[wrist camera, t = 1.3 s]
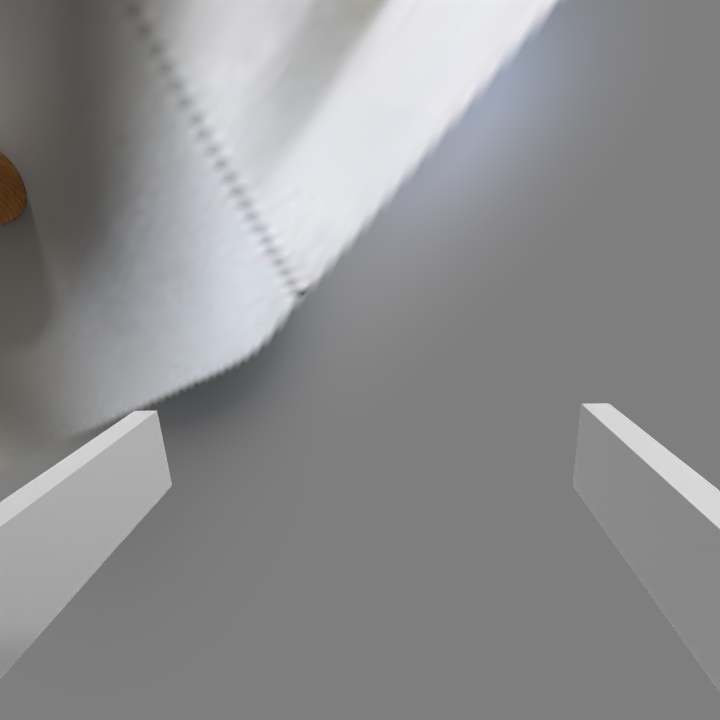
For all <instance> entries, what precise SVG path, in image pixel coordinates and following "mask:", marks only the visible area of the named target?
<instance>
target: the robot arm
mask: <svg viewBox="0 0 720 720" xmlns="http://www.w3.org/2000/svg"><path fill="white" fill-rule="evenodd" d="M171 486H172V483H171V478H170V473H169V468H168V463H167V458H166V453H165V448H164V444H163V438H162V433H161V428H160V423H159V418H158V413H157V411H134V412H132V413H131V414H129V415H128V416H126V417H125V418H123V419H122V420H121V421H119V422H118V423H116V424H115V425H113V426H112V427H110V428H109V429H107V430H106V431H105V432H103V433H101V434H100V435H98V436H97V437H95V438H94V439H93V440H91V441H90V442H88V443H87V444H85V445H84V446H83V447H81V448H79V449H78V450H76V451H75V452H73V453H72V454H70V455H69V456H67V457H66V458H65V459H63V460H62V461H60V462H59V463H57V464H56V465H54V466H53V467H51V468H50V469H48V470H47V471H45V472H44V473H43V474H41V475H40V476H38V477H37V478H35V479H34V480H32V481H31V482H29V483H28V484H26V485H25V486H23V487H22V488H20V489H19V490H17V491H16V492H15V493H13V494H11V495H10V496H8V497H7V498H6V499H4V500H3V501H1V502H0V679H1V678H2V676H3V675H4V674H5V673H6V672H7V671H8V669H10V667H11V666H12V665H13V664H14V663H15V662H16V661H17V660H18V658H19V657H20V656H21V655H22V654H23V653H24V652H25V651H26V649H27V648H28V647H29V646H30V645H31V644H32V643H33V642H34V640H35V639H36V638H37V637H38V636H39V635H40V633H42V631H43V630H44V629H45V628H46V627H47V626H48V625H49V624H50V622H51V621H52V620H53V619H54V618H55V617H56V616H57V615H58V613H59V612H60V611H61V610H62V609H63V608H64V607H65V606H66V604H67V603H68V602H69V601H70V600H71V599H72V598H73V596H74V595H75V594H76V593H77V592H78V591H79V590H80V589H81V587H82V586H83V585H84V584H85V583H86V582H87V581H88V579H89V578H90V577H91V576H92V575H93V574H94V573H95V572H96V571H97V569H98V568H99V567H100V566H101V565H102V564H103V563H104V562H105V560H106V559H107V558H108V557H109V556H110V555H111V554H112V553H113V551H114V550H115V549H116V548H117V547H118V546H119V545H120V543H121V542H122V541H123V540H124V539H125V538H126V537H127V536H128V535H129V533H130V532H131V531H132V530H133V529H134V528H135V527H136V526H137V524H138V523H139V522H140V521H141V520H142V519H143V518H144V516H145V515H146V514H147V513H148V512H149V511H150V510H151V509H152V507H153V506H154V505H155V504H156V503H157V502H158V501H159V500H160V498H161V497H162V496H163V495H164V494H165V493H166V492H167V491H168V489H169V488H170V487H171ZM573 486H574V488H575V489H576V491H577V492H578V494H579V495H580V496H581V498H582V499H583V500H584V502H585V503H586V505H587V506H588V508H589V509H590V511H591V512H592V513H593V515H594V516H595V517H596V519H597V520H598V522H599V523H600V524H601V526H602V527H603V529H604V530H605V532H606V533H607V534H608V536H609V537H610V539H611V540H612V542H613V543H614V544H615V546H616V547H617V548H618V550H619V551H620V553H621V554H622V556H623V557H624V558H625V560H626V561H627V563H628V564H629V565H630V567H631V568H632V569H633V571H634V572H635V574H636V575H637V577H638V578H639V579H640V581H641V582H642V584H643V585H644V586H645V588H646V589H647V591H648V592H649V593H650V595H651V596H652V598H653V599H654V601H655V602H656V604H657V605H658V606H659V608H660V609H661V611H662V612H663V613H664V615H665V616H666V618H667V619H668V620H669V622H670V623H671V625H672V626H673V627H674V629H675V630H676V632H677V633H678V635H679V636H680V637H681V639H682V640H683V642H684V643H685V644H686V646H687V647H688V649H689V650H690V651H691V653H692V654H693V656H694V657H695V658H696V660H697V661H698V663H699V664H700V665H701V667H702V668H703V670H704V671H705V673H706V674H707V675H708V677H709V678H710V679H711V681H712V682H713V684H714V685H715V686H716V688H717V689H718V691H719V692H720V491H719V490H718V489H717V488H715V487H714V486H713V485H711V484H710V483H709V482H708V481H706V480H705V479H704V478H703V477H701V476H700V475H699V474H697V473H696V472H695V471H694V470H692V469H691V468H690V467H689V466H687V465H686V464H685V463H684V462H682V461H681V460H680V459H678V458H677V457H676V456H674V455H673V454H672V453H671V452H669V451H668V450H667V449H666V448H665V447H663V446H662V445H661V444H659V443H658V442H657V441H656V440H654V439H653V438H652V437H650V436H649V435H648V434H647V433H646V432H644V431H643V430H642V429H641V428H639V427H638V426H637V425H635V424H634V423H633V422H632V421H630V420H629V419H627V417H625V416H624V415H623V414H621V413H620V412H619V411H618V410H616V409H615V408H614V407H613V406H611V405H610V404H608V403H607V404H606V403H605V404H581V414H580V422H579V432H578V442H577V452H576V461H575V470H574V480H573Z"/></svg>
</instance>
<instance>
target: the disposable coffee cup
mask: <svg viewBox="0 0 720 720" xmlns="http://www.w3.org/2000/svg"><path fill="white" fill-rule="evenodd" d="M25 200H26V195H25V190H24V185H23V183H22V180H21V177H20V176H19V174H18V172H17V170H16V169H15V168H14V166H13V165H12V163H11V162H10V161H9V160H8V159H7V158H6V157H5V156H4V155H3V154H1V153H0V226H2V225H4V224H6V223H8V222H10V221H12V220H14V219H16V218H17V217H18V216H19V215H21V213H22V211H23V209H24V206H25Z"/></svg>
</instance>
